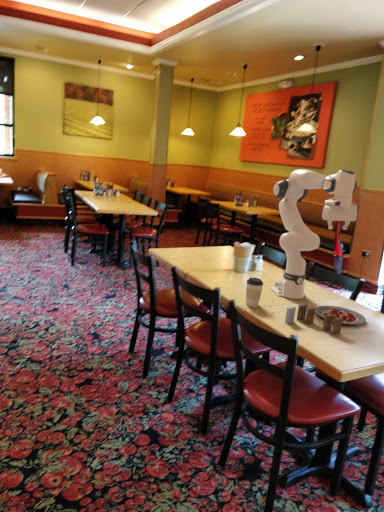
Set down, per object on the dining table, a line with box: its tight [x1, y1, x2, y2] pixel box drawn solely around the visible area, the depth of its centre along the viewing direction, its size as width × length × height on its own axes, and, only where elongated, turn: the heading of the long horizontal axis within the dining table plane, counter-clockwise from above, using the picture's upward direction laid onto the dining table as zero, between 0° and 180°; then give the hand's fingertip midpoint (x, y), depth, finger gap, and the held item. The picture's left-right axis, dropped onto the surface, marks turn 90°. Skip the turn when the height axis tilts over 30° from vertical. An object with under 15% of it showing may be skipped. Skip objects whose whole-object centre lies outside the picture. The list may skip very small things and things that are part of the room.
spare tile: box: [284, 305, 297, 325], centre depth 208 cm, size 2×5×8 cm, turn 131°
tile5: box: [331, 317, 343, 336], centre depth 199 cm, size 2×5×8 cm, turn 131°
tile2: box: [304, 306, 317, 325], centre depth 210 cm, size 2×5×8 cm, turn 131°
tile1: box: [296, 303, 308, 322], centre depth 214 cm, size 2×5×8 cm, turn 131°
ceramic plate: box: [315, 305, 366, 325], centre depth 223 cm, size 26×26×3 cm
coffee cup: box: [245, 277, 264, 308], centre depth 228 cm, size 9×9×15 cm
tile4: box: [322, 314, 333, 333], centre depth 203 cm, size 2×5×8 cm, turn 131°
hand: (337, 229), depth 214 cm, fingers open, 8 cm apart
